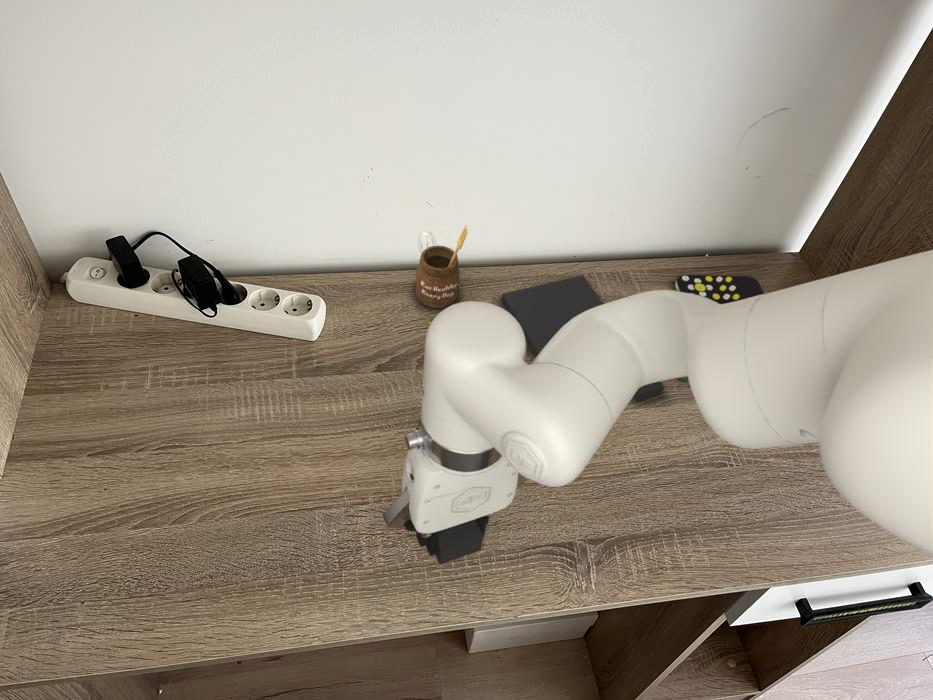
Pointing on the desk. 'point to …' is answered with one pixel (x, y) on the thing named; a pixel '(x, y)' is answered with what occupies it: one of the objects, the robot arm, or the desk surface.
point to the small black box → (458, 541)
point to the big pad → (557, 314)
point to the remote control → (719, 287)
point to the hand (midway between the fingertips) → (451, 533)
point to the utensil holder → (438, 274)
